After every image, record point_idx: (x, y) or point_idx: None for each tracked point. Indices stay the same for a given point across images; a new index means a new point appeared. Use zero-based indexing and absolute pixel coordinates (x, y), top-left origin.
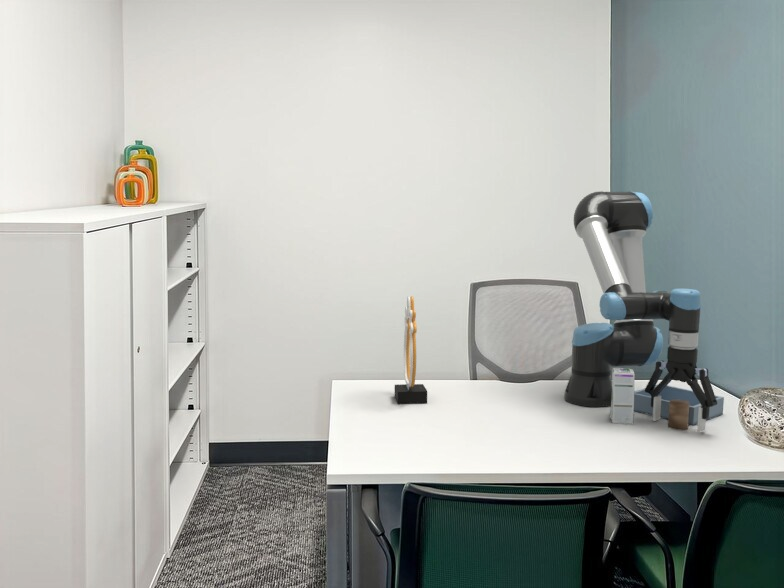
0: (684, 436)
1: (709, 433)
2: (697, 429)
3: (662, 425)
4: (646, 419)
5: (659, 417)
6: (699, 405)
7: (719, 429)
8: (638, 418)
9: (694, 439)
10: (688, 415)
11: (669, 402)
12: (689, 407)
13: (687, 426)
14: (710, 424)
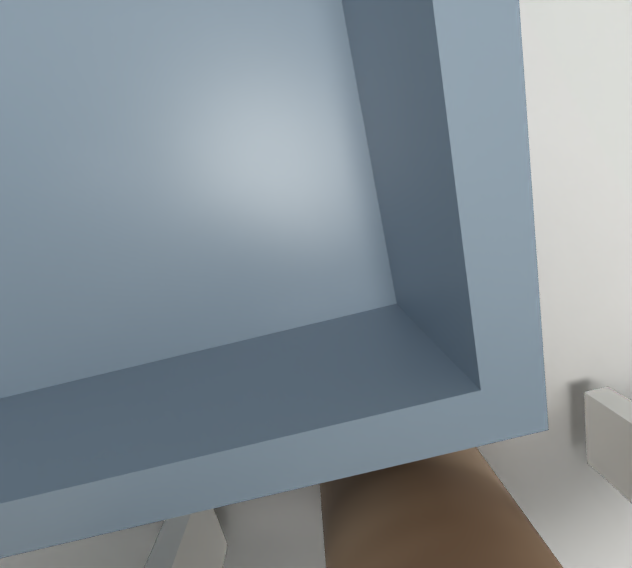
0: None
1: (627, 367)
2: (599, 472)
3: (306, 521)
4: None
5: None
6: (522, 240)
7: (628, 201)
8: (87, 554)
9: (626, 545)
10: (525, 516)
11: (111, 525)
12: (455, 437)
13: None
14: None
